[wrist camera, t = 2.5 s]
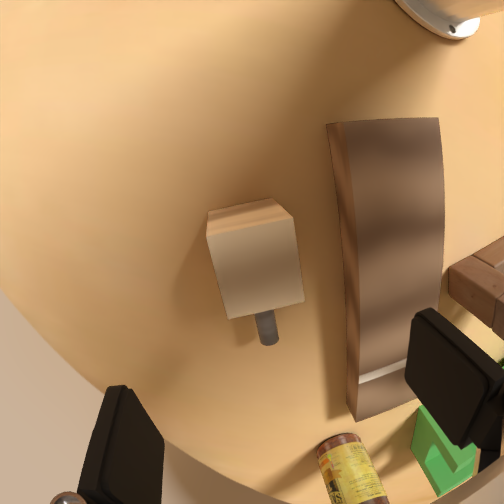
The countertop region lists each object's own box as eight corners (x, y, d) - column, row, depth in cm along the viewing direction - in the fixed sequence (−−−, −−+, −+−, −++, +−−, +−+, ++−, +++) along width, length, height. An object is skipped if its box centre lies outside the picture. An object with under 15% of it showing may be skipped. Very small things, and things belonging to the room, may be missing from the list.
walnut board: (326, 124, 20) (343, 122, 17) (415, 118, 20) (439, 117, 17) (346, 403, 30) (356, 423, 27) (408, 380, 30) (420, 397, 27)
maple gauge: (208, 211, 21) (206, 236, 15) (272, 197, 21) (292, 217, 15) (238, 330, 24) (245, 380, 19) (291, 317, 25) (312, 364, 19)
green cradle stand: (409, 447, 38) (437, 497, 27) (417, 405, 33) (458, 466, 22) (507, 382, 38) (539, 418, 27) (524, 332, 33) (567, 369, 22)
